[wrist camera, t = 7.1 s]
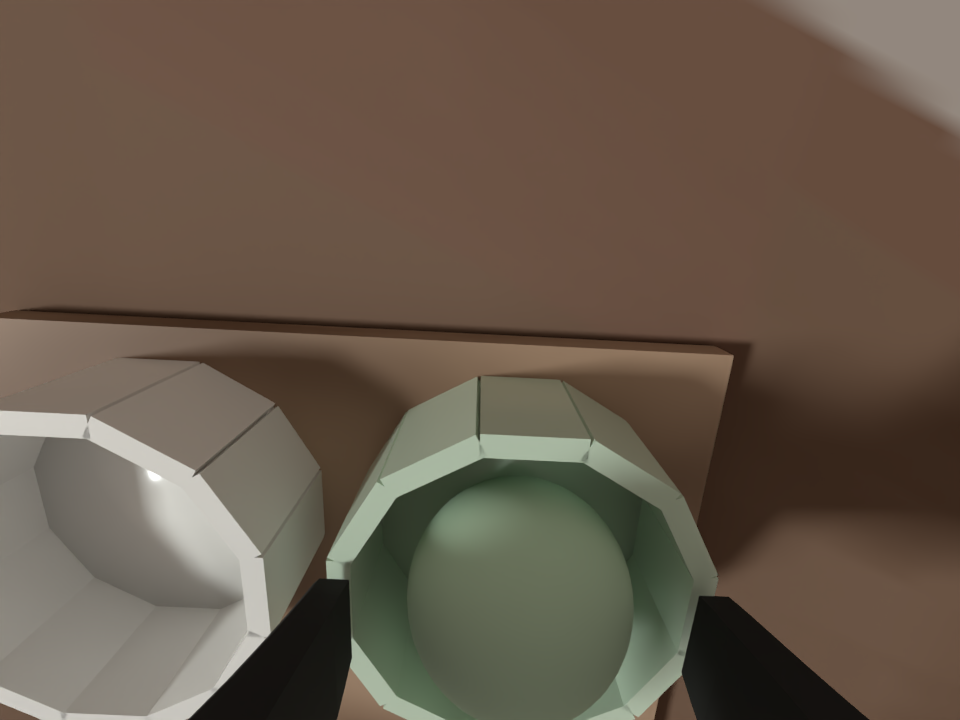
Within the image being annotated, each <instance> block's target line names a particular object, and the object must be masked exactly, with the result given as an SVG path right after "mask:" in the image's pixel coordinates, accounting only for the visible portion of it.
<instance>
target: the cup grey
mask: <svg viewBox="0 0 960 720" xmlns="http://www.w3.org/2000/svg"><path fill="white" fill-rule="evenodd" d="M274 405H275V403H274V402H272V401H270V400H269V399H267V398H265V397H263V396H262V395H260V394H258V393H256V392H254V391H253V390H251V389H249V388H247V387H245V386H244V385H242V384H240V383H238V382H237V381H235V380H233V379H231V378H229V377H228V376H226V375H224V374H222V373H220V372H219V371H217V370H215V369H213V368H212V367H210V366H208V365H206V364H204V363H201V364H200V362H196V361H176V360H156V359H136V358H117V359H116V358H115V359H112V360H110V361H107V362H104V363H101V364H98V365H95V366H93V367H90V368H87V369H84V370H81V371H78V372H75V373H73V374H70V375H67V376H64V377H61V378H58V379H55V380H53V381H50V382H47V383H44V384H41V385H38V386H36V387H33V388H30V389H27V390H24V391H21V392H18V393H16V394H13V395H10V396H7V397H4V398H1V399H0V703H2V704H5V705H7V706H10V707H12V708H15V709H17V710H20V711H22V712H24V713H27V714H29V715H32V716H34V717H37V718H39V719H42V720H186V719H188V718H190V717H191V716H192V715H193V714H194V713H195V712H196V711H197V710H198V709H199V708H200V707H201V706H202V705H203V704H204V703H205V702H206V701H207V700H208V699H209V698H210V697H211V696H212V695H213V694H214V693H215V692H216V691H217V690H218V689H219V688H220V687H221V686H222V685H223V684H224V683H225V682H226V681H227V680H228V679H229V678H230V677H231V676H232V675H233V673H234V672H235V671H236V670H237V669H238V668H239V667H240V666H241V665H242V664H243V663H244V662H245V661H246V659H247V658H248V657H249V656H250V655H251V654H252V653H253V652H254V651H255V650H256V649H257V648H258V646H259V645H260V644H261V643H262V642H263V641H264V640H265V639H266V638H267V637H268V635H269V634H270V633H271V632H272V631H273V630H274V629H275V628H276V626H277V625H278V624H279V623H280V621H281V619H282V617H283V615H284V613H285V611H286V609H287V607H288V605H289V604H290V602H291V600H292V598H293V596H294V594H295V592H296V590H297V588H298V586H299V584H300V582H301V580H302V578H303V576H304V574H305V573H306V571H307V569H308V567H309V565H310V563H311V561H312V559H313V557H314V555H315V553H316V551H317V549H318V547H319V545H320V543H321V541H322V540H323V538H324V534H325V525H324V507H323V489H322V471H321V470H319V469H320V466H319V465H318V463H317V462H316V460H315V459H314V457H313V456H312V454H311V453H310V451H309V450H308V449H307V447H306V446H305V444H304V443H303V441H302V440H301V438H300V437H299V435H298V434H297V432H296V431H295V430H294V428H293V427H292V425H291V424H290V422H289V421H288V419H287V418H286V416H285V415H284V413H283V412H282V411H281V409H280V408H279V406H277V407H275V408H274Z"/></svg>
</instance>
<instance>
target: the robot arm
mask: <svg viewBox="0 0 960 720" xmlns="http://www.w3.org/2000/svg"><path fill="white" fill-rule="evenodd" d="M351 660H352V644H351V618H350V592H349V580H344V579H322V578H319V579H318V580H317V581H316V582H314V583H313V585H312V586H311V587H310V588H309V589H308V591H307V592H306V593H305V594H304V595H303V596H302V598H301V599H300V600H299V601H298V602H297V603H296V605H295V606H294V607H293V608H292V609H291V610H290V612H289V613H288V614H287V615H286V616H285V617H284V619H283V620H282V621H281V622H280V623H279V624H278V625H277V626H276V628H275V629H274V630H273V631H272V632H271V633H270V634H269V635H268V637H267V638H266V639H265V640H264V641H263V642H262V643H261V644H260V645H259V646H258V648H257V649H256V650H255V651H254V652H253V653H252V654H251V655H250V656H249V657H248V658H247V659H246V661H245V662H244V663H243V664H242V665H241V666H240V667H239V668H238V669H237V670H236V671H235V672H234V673H233V675H232V676H231V677H230V678H229V679H228V680H227V681H226V682H225V683H224V684H223V685H222V686H221V687H220V688H219V689H218V690H217V691H216V692H215V693H214V694H213V695H212V696H211V697H210V698H209V699H208V700H207V701H206V702H205V703H204V704H203V705H202V706H201V707H200V708H199V709H198V710H197V711H196V712H195V713H194V714H193V715H192V716H191V717H190V718H189V719H188V720H337V717H338V714H339V710H340V706H341V702H342V697H343V693H344V689H345V685H346V681H347V677H348V672H349V668H350V664H351ZM681 672H682V675H683V678H684V682H685V685H686V688H687V691H688V694H689V697H690V701H691V704H692V707H693V710H694V712H695V715H696V718H697V720H869V719H868V718H867V717H865V716H864V715H863V714H862V713H861V712H859V711H858V710H857V709H856V708H855V707H854V706H852V705H851V704H850V703H849V702H848V701H847V700H845V699H844V698H843V697H842V696H841V695H840V694H838V693H837V692H836V691H835V690H834V689H833V688H832V687H830V686H829V685H828V684H827V683H826V682H825V681H824V680H822V679H821V678H820V677H819V676H818V675H817V674H816V673H814V672H813V671H812V670H811V669H810V668H809V667H808V666H806V665H805V664H804V663H803V662H802V661H801V660H800V659H799V658H797V657H796V656H795V655H794V654H793V653H792V652H791V651H790V650H789V649H787V648H786V647H785V646H784V645H783V644H782V643H781V642H780V641H778V640H777V639H776V638H775V637H774V636H773V635H772V634H771V633H769V632H768V631H767V630H766V629H765V628H764V627H763V626H762V625H761V624H759V623H758V622H757V621H756V620H755V619H754V618H753V617H752V616H750V615H749V614H748V613H747V612H746V611H745V610H744V609H742V608H741V607H740V606H739V605H738V604H736V603H735V602H734V601H733V600H732V599H731V598H729V597H720V596H699V598H698V603H697V607H696V611H695V615H694V620H693V624H692V628H691V633H690V637H689V641H688V645H687V650H686V654H685V658H684V663H683V667H682V671H681Z"/></svg>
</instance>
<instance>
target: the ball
mask: <svg viewBox="0 0 960 720" xmlns="http://www.w3.org/2000/svg"><path fill="white" fill-rule="evenodd" d="M407 608H408V620H409V625H410V629H411V633H412V637H413V642H414V645H415V647H416V649H417V652H418V654H419V657H420V659H421V661H422V664H423V666H424V667H425V669H426V671H427V672H428V674H429V675H430V677H431V678H432V680H433V681H434V683H435V684H436V686H437V687H438V688H439V689H440V690H441V692H442V693H443V694H444V695H445V696H446V697H447V698H448V699H449V700H450V701H451V702H453V703H454V704H455V705H456V706H457V707H458V708H459V709H461V710H462V711H464V712H465V713H467V714H468V715H470V716H472V717H474V718H476V719H477V720H572V719H574V718H576V717H578V716H579V715H581V714H582V713H583V712H585V711H586V710H587V709H589V708H590V707H591V706H592V705H593V704H594V703H595V702H596V701H598V700H599V699H600V698H601V697H602V695H603V694H604V693H605V692H606V691H607V689H608V688H609V686H610V685H611V683H612V682H613V680H614V679H615V677H616V676H617V674H618V672H619V670H620V668H621V666H622V663H623V661H624V658H625V656H626V653H627V650H628V647H629V643H630V639H631V633H632V628H633V618H634V602H633V590H632V584H631V579H630V574H629V570H628V567H627V564H626V561H625V558H624V555H623V553H622V550H621V548H620V546H619V544H618V542H617V540H616V539H615V537H614V535H613V534H612V532H611V530H610V529H609V527H608V526H607V524H606V523H605V522H604V521H603V520H602V518H601V517H600V516H599V515H598V514H597V512H596V511H595V510H594V509H593V508H592V507H591V506H590V505H588V504H587V503H586V502H585V501H584V500H582V499H581V498H580V497H578V496H577V495H576V494H574V493H573V492H571V491H570V490H568V489H566V488H564V487H562V486H560V485H558V484H555V483H552V482H549V481H547V480H544V479H540V478H535V477H530V476H502V477H496V478H492V479H488V480H484V481H482V482H479V483H477V484H474V485H472V486H470V487H469V488H467V489H465V490H463V491H462V492H460V493H459V494H457V495H456V496H455V497H453V498H452V499H450V500H449V501H448V502H447V503H446V504H445V505H444V506H443V507H442V508H441V509H440V510H439V512H438V513H437V514H436V515H435V516H434V518H433V519H432V520H431V521H430V523H429V524H428V526H427V528H426V529H425V531H424V533H423V534H422V536H421V538H420V540H419V543H418V545H417V547H416V550H415V553H414V556H413V559H412V563H411V567H410V571H409V578H408V588H407Z"/></svg>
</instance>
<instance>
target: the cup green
mask: <svg viewBox="0 0 960 720" xmlns="http://www.w3.org/2000/svg"><path fill="white" fill-rule="evenodd" d="M502 476H530V477H535V478H540V479H544V480H547V481H549V482H552V483H555V484H558V485H560V486H562V487H564V488H566V489H568V490H570V491H571V492H573V493H574V494H576V495H577V496H578V497H580V498H581V499H582V500H584V501H585V502H586V503H587V504H588V505H590V506H591V507H592V508H593V509H594V510H595V511H596V512H597V514H598V515H599V516H600V517H601V518H602V520H603V521H604V522H605V523H606V524H607V526H608V527H609V529H610V530H611V532H612V534H613V535H614V537H615V539H616V540H617V542H618V544H619V546H620V548H621V550H622V553H623V555H624V558H625V561H626V564H627V567H628V570H629V574H630V579H631V584H632V590H633V602H634V618H633V628H632V633H631V639H630V643H629V647H628V650H627V653H626V656H625V658H624V661H623V663H622V666H621V668H620V670H619V672H618V674H617V676H616V677H615V679H614V680H613V682H612V683H611V685H610V686H609V688H608V689H607V691H606V692H605V693H604V694H603V695H602V697H601V698H600V699H599V700H598V701H596V702H595V703H594V704H593V705H592V706H591V707H590V708H589V709H587V710H586V711H585V712H583V713H582V714H581V715H579V716H578V717H576V718H574V719H572V720H634V719H635V717H634V715H635V716H637V717H639V716H640V715H641V714H642V713H643V712H644V711H645V710H646V709H647V708H648V707H649V706H650V705H651V704H652V703H653V702H655V701H656V700H657V699H658V698H659V697H660V696H661V695H662V694H663V693H664V692H665V691H666V690H667V689H668V688H669V687H670V686H671V685H672V684H673V683H674V682H675V681H676V680H677V679H678V678H679V677H680V676H681V675H682V672H681V671H682V667H683V663H684V658H685V654H686V650H687V645H688V641H689V637H690V633H691V628H692V624H693V620H694V615H695V611H696V607H697V603H698V598H699V596H714V595H715V591H716V587H717V583H718V577H717V575H718V574H717V571H716V569H715V567H714V564H713V562H712V560H711V558H710V555H709V553H708V551H707V549H706V546H705V544H704V542H703V539H702V537H701V535H700V533H699V530H698V528H697V526H696V523H695V521H694V519H693V517H692V514H691V512H690V510H689V507H688V505H687V503H686V501H685V498H684V496H683V495H682V494H681V492H680V491H679V490H678V488H677V487H676V486H675V484H674V483H673V482H672V481H671V479H670V478H669V477H668V475H667V474H666V473H665V471H664V470H663V469H662V467H661V466H660V465H659V463H658V462H657V461H656V459H655V458H654V457H653V455H652V454H651V453H650V451H649V450H648V449H647V447H646V446H645V445H644V443H643V442H642V441H641V439H640V438H639V437H638V436H637V434H636V433H635V432H634V430H633V429H632V428H631V426H630V425H629V424H628V423H627V421H626V420H624V419H623V418H621V417H620V416H618V415H616V414H615V413H613V412H612V411H610V410H609V409H607V408H605V407H604V406H602V405H601V404H599V403H598V402H596V401H594V400H593V399H591V398H590V397H588V396H587V395H585V394H583V393H582V392H580V391H579V390H577V389H575V388H574V387H572V386H571V385H569V384H568V383H566V382H564V381H563V382H562V383H561V381H560V380H556V379H536V378H516V377H496V376H481V381H479V379H478V377H475V378H473V379H471V380H469V381H467V382H465V383H463V384H461V385H459V386H457V387H454V388H452V389H450V390H448V391H446V392H444V393H442V394H440V395H438V396H436V397H434V398H432V399H430V400H428V401H426V402H423V403H421V404H419V405H417V406H415V407H413V408H411V409H409V410H408V412H406V413H405V414H404V416H403V417H402V419H401V420H400V422H399V423H398V425H397V426H396V428H395V429H394V431H393V433H392V434H391V436H390V437H389V439H388V440H387V442H386V443H385V445H384V446H383V448H382V450H381V451H380V453H379V454H378V456H377V457H376V459H375V460H374V462H373V463H372V465H371V466H370V468H369V470H368V472H367V474H366V476H365V478H364V480H363V482H362V484H361V486H360V488H359V491H358V493H357V495H356V497H355V499H354V501H353V503H352V505H351V507H350V510H349V512H348V514H347V516H346V518H345V520H344V522H343V524H342V526H341V529H340V531H339V533H338V535H337V537H336V539H335V541H334V543H333V545H332V548H331V550H330V552H329V554H328V556H327V560H326V571H327V579H344V580H349V592H350V618H351V644H352V660H351V664H350V668H351V669H352V670H353V672H354V673H355V674H356V676H357V677H358V678H359V680H360V681H361V682H362V683H363V685H364V686H365V687H366V689H367V690H368V691H369V693H370V694H371V695H372V696H373V698H374V699H375V700H376V702H377V703H378V704H379V705H380V706H382V705H384V706H383V709H385V710H387V711H390V712H392V713H394V714H396V715H398V716H400V717H402V718H405V719H407V720H477V719H476V718H474V717H472V716H470V715H468V714H467V713H465V712H464V711H462V710H461V709H459V708H458V707H457V706H456V705H455V704H454V703H453V702H451V701H450V700H449V699H448V698H447V697H446V696H445V695H444V694H443V693H442V692H441V690H440V689H439V688H438V687H437V686H436V684H435V683H434V681H433V680H432V678H431V677H430V675H429V674H428V672H427V671H426V669H425V667H424V666H423V664H422V661H421V659H420V657H419V654H418V652H417V649H416V647H415V645H414V642H413V637H412V633H411V629H410V625H409V620H408V608H407V588H408V578H409V571H410V567H411V563H412V559H413V556H414V553H415V550H416V547H417V545H418V543H419V540H420V538H421V536H422V534H423V533H424V531H425V529H426V528H427V526H428V524H429V523H430V521H431V520H432V519H433V518H434V516H435V515H436V514H437V513H438V512H439V510H440V509H441V508H442V507H443V506H444V505H445V504H446V503H447V502H448V501H449V500H450V499H452V498H453V497H455V496H456V495H457V494H459V493H460V492H462V491H463V490H465V489H467V488H469V487H470V486H472V485H474V484H477V483H479V482H482V481H484V480H488V479H492V478H496V477H502Z"/></svg>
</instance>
